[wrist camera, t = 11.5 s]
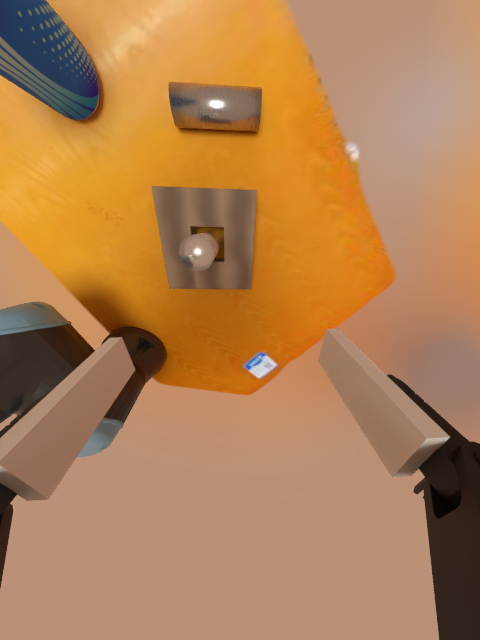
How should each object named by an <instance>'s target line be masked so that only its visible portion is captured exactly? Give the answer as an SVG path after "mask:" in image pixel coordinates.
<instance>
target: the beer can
mask: <svg viewBox="0 0 480 640" xmlns="http://www.w3.org/2000/svg"><path fill="white" fill-rule="evenodd" d="M0 75H1V76H3V77H4V78H6V79H8V80H9V81H11V82H12V83H14V84H15V85H17V86H18V87H20V88H22V89H23V90H25V91H26V92H28V93H29V94H31V95H32V96H34V97H35V98H37V99H39V100H40V101H42V102H43V103H45V104H46V105H48V106H49V107H51V108H53V109H54V110H56V111H57V112H59V113H60V114H62V115H64V116H65V117H68V118H70V119H74V120H84V119H87V118H88V117H90V116H91V115H92V114H93V113H94V112H95V111H96V109H97V107H98V103H99V84H98V78H97V74H96V71H95V68H94V65H93V63H92V61H91V58H90V56H89V55H88V53H87V51H86V49H85V48H84V46H83V45H82V43H81V42H80V41H79V40H78V38H77V37H76V36H75V35H74V33H73V32H72V31H71V30H70V29H69V27H68V26H67V25H66V24H65V23H64V21H63V20H62V19H61V18H60V17H59V15H58V14H57V13H56V12H55V11H54V9H53V8H52V7H51V6H50V5H49V3H48V2H47V1H46V0H0Z"/></svg>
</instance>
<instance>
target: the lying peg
mask: <svg viewBox="0 0 480 640" xmlns="http://www.w3.org/2000/svg"><path fill="white" fill-rule="evenodd" d="M169 98H170V105H171V111H172V115H173V119H174V122H175V125H176V127H179V128H198V129H217V130H235V131H254V132H258V130H259V123H260V114H261V99H262V88H260V87H244V86H228V85H213V84H197V83H182V82H169Z"/></svg>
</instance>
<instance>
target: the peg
mask: <svg viewBox="0 0 480 640" xmlns="http://www.w3.org/2000/svg"><path fill="white" fill-rule="evenodd" d="M220 247H221V239H220V237H219V235H218V234H217V233H215V232H212V231H208V232H204V233H199V234H195V235H190V236H188V237H186V238H185V239H184V240H183V241H182V242H181V244H180V248H179V254H180V258H181V260H182V262H183V263H184V265H185V266H186V267H188V268H189V269H191V270H194V271H203V270H206V269H207V268H209V267H210V265H211V264H212V262H213V260H214V259H215V257H216V255H217V253H218V251H219V249H220Z"/></svg>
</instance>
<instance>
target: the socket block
mask: <svg viewBox="0 0 480 640" xmlns="http://www.w3.org/2000/svg"><path fill="white" fill-rule="evenodd" d="M152 192H153V197H154V203H155V209H156V215H157V220H158V226H159V232H160V237H161V243H162V249H163V254H164V260H165V266H166V272H167V277H168V283H169V288H179V289H251V282H252V265H253V247H254V230H255V213H256V196H257V190H237V189H211V188H184V187H158V186H152ZM195 226H197V227H224V258H215V259H214V260H213V262H212V264H211V265H210V267H209V268H207V269H206V270H203V271H194V270H191V269H189V268H188V267H186V266H185V265H184V263H183V262H182V260H181V258H180V254H179V248H180V244H181V242H182V241H183V240H184V239H185V238H186V237H188V236H190V235H195V234H196V228H195Z"/></svg>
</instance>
